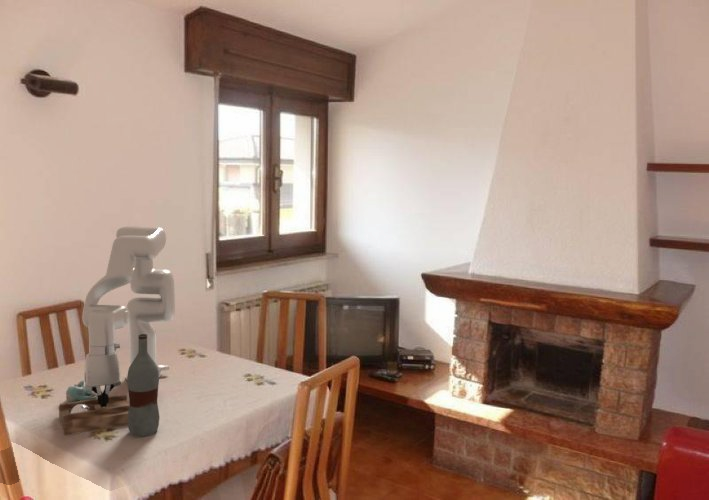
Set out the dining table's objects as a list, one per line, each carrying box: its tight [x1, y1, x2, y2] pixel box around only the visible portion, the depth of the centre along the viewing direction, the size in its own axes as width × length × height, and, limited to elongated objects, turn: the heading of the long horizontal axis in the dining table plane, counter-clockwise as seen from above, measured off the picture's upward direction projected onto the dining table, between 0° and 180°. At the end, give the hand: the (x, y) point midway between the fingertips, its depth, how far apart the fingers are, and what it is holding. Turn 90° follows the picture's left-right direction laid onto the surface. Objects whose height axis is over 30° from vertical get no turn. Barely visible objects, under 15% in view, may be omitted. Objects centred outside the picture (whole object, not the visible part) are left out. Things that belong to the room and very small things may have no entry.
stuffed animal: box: [65, 380, 98, 403], centre depth 206 cm, size 11×7×12 cm
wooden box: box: [58, 394, 130, 436], centre depth 188 cm, size 20×16×5 cm
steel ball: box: [70, 404, 91, 414], centre depth 185 cm, size 6×6×6 cm
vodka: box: [126, 334, 160, 438], centre depth 179 cm, size 9×9×30 cm
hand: (103, 405), depth 189 cm, fingers closed
